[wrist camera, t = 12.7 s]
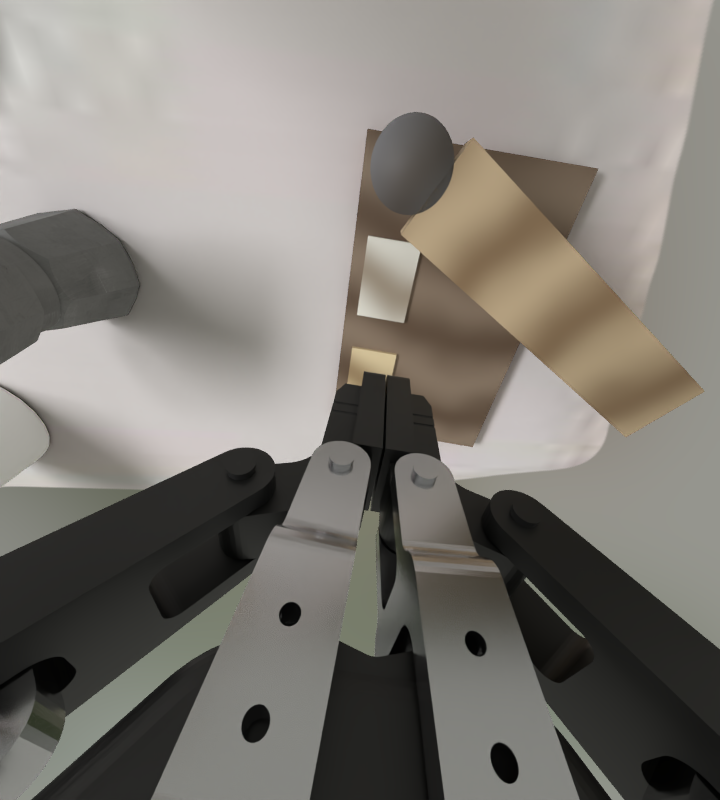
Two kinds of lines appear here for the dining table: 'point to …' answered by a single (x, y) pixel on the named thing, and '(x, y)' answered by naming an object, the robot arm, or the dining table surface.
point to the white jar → (19, 436)
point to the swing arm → (524, 272)
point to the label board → (438, 302)
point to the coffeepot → (59, 276)
